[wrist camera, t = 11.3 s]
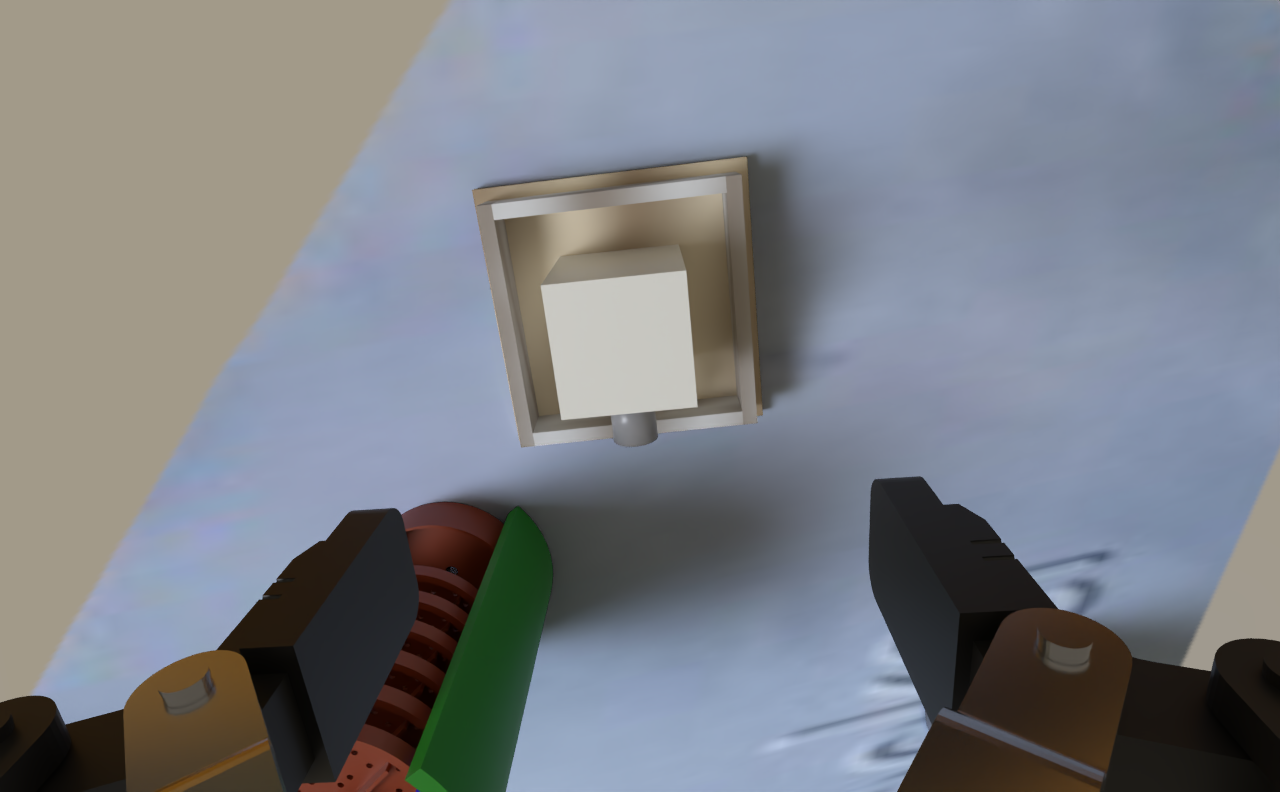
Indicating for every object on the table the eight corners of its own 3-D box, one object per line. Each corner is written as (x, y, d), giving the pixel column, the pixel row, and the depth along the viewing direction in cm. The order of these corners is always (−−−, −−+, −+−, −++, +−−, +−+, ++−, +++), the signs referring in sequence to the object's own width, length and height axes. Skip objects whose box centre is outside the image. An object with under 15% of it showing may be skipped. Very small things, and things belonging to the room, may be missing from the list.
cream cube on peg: (678, 244, 30) (686, 270, 25) (692, 400, 33) (701, 456, 27) (560, 256, 30) (540, 285, 25) (582, 410, 33) (568, 469, 27)
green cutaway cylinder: (473, 458, 34) (266, 853, 16) (594, 583, 37) (540, 1058, 18) (327, 571, 37) (-9, 1036, 18) (449, 682, 39) (267, 1196, 20)
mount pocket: (744, 156, 30) (753, 158, 27) (760, 410, 33) (769, 432, 31) (475, 189, 30) (460, 194, 28) (521, 435, 34) (511, 459, 31)
